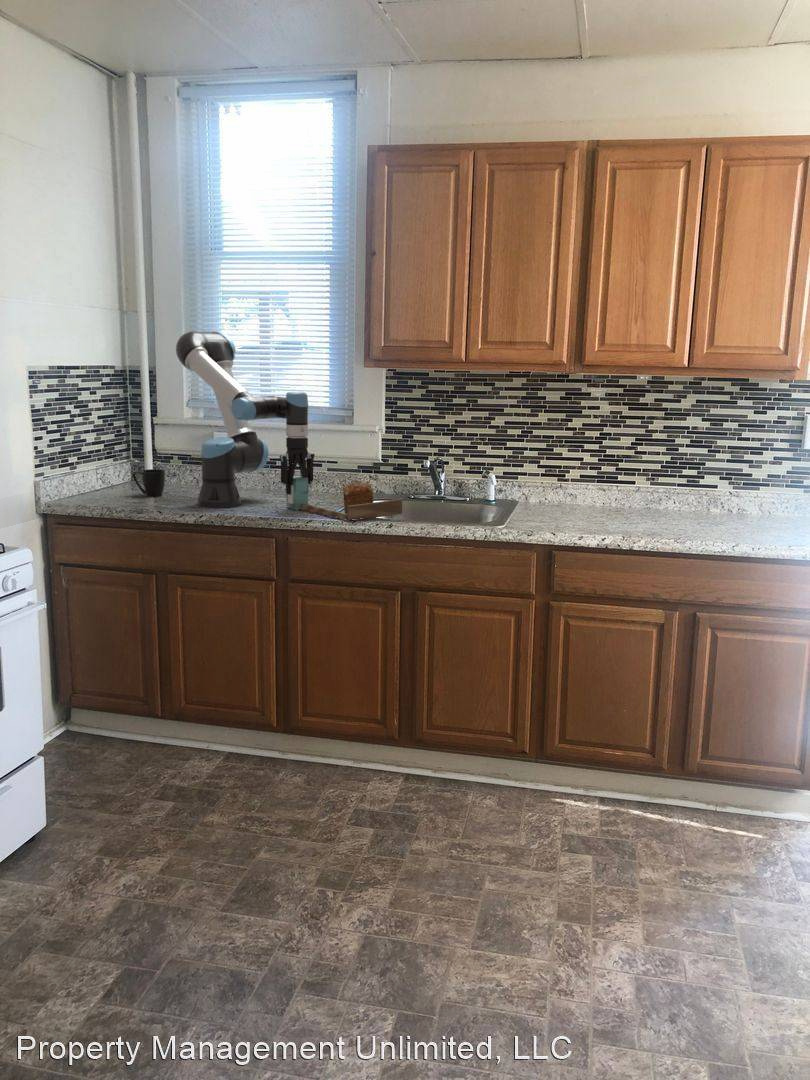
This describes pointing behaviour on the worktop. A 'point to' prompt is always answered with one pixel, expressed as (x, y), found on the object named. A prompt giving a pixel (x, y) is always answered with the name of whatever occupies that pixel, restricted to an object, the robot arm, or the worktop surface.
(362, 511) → the sled
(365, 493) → the bread
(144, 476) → the mug
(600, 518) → the worktop surface
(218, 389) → the robot arm
